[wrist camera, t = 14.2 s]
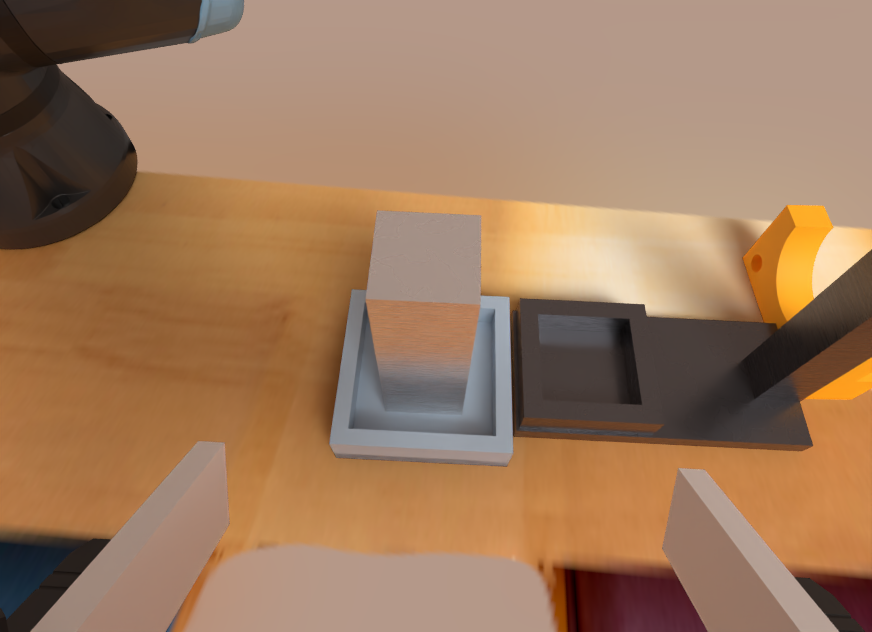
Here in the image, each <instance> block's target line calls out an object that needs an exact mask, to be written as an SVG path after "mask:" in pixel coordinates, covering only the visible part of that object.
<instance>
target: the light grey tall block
mask: <svg viewBox="0 0 872 632" xmlns="http://www.w3.org/2000/svg"><path fill="white" fill-rule="evenodd" d="M366 304H367V310H368V316H369V321H370V327H371V332H372V338H373V343H374V349H375V355H376V360H377V366H378V371H379V377H380V382H381V388H382V393H383V399H384V405H385V410H386V411H387V412H407V413H427V414H447V415H462V411H463V406H464V400H465V394H466V388H467V382H468V376H469V370H470V364H471V358H472V352H473V347H474V341H475V335H476V329H477V323H478V317H479V311H480V305H481V215H460V214H439V213H418V212H397V211H377V215H376V223H375V230H374V238H373V246H372V253H371V261H370V269H369V276H368V284H367V292H366Z"/></svg>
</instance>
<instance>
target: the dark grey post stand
mask: <svg viewBox="0 0 872 632" xmlns="http://www.w3.org/2000/svg"><path fill="white" fill-rule="evenodd" d="M511 351H512V391H513V430H514V437H532V438H552V439H571V440H591V441H611V442H630V443H650V444H670V445H689V446H709V447H729V448H748V449H768V450H788V451H803V450H805V449H808V448H810V447H812V446H813V444H812V441H811V437H810V434H809V431H808V427H807V424H806V421H805V418H804V414H803V411H802V408H801V404H800V401H802V400H803V399H805V398H806V397H808V396H810V395H811V394H813V393H815V392H816V391H818V390H819V389H821V388H823V387H824V386H826V385H828V384H829V383H831V382H833V381H834V380H836V379H837V378H839V377H841V376H842V375H844V374H846V373H847V372H849V371H850V370H852V369H854V368H855V367H857V366H859V365H860V364H862V363H863V362H865V361H867V360H868V359H870V358H872V250H871V251H869V252H868V253H867V254H866V255H865V256H864V257H862V258H861V259H860V260H859V261H858V262H857V263H855V264H854V265H853V266H852V267H851V268H850V269H848V270H847V271H846V272H845V273H844V274H843V275H841V276H840V277H839V278H838V279H837V280H836V281H834V282H833V283H832V284H831V285H830V286H829V287H827V288H826V289H825V290H824V291H823V292H822V293H820V294H819V295H818V296H817V297H816V298H815V299H813V300H812V301H811V302H810V303H809V304H808V305H806V306H805V307H804V308H803V309H802V310H800V311H799V312H798V313H797V314H796V315H795V316H793V317H792V318H791V319H790V320H789V321H788V322H786V323H785V324H784V325H783V326H782V327H781V328H779V329H777V325H776V323H759V322H738V321H718V320H697V319H677V318H656V317H646V311H645V305H644V304H624V303H604V302H583V301H562V300H542V299H521V298H520V300H519V303H518V307H517V310H516V311H513V312H512V316H511Z"/></svg>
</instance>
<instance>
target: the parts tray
mask: <svg viewBox="0 0 872 632" xmlns="http://www.w3.org/2000/svg"><path fill="white" fill-rule="evenodd" d="M366 292H367V290H355V289H352V292H351V299H350V306H349V313H348V320H347V326H346V333H345V340H344V347H343V354H342V360H341V367H340V374H339V381H338V388H337V394H336V401H335V408H334V415H333V422H332V428H331V435H330V442H329V444H330V446H331V448H332V450H333V452H334V454H335V456H336V458H351V459H371V460H390V461H410V462H429V463H449V464H468V465H488V466H507V465H508V463H509V461H510V459H511V457H512V455H513V427H512V386H511V344H510V303H509V297H499V296H481V305H480V311H479V317H478V323H477V329H476V335H475V341H474V347H473V352H472V358H471V364H470V370H469V376H468V382H467V388H466V394H465V400H464V406H463V411H462V415H447V414H427V413H407V412H387V411H386V410H385V405H384V399H383V393H382V388H381V382H380V377H379V371H378V366H377V360H376V355H375V349H374V343H373V338H372V332H371V327H370V321H369V316H368V310H367V304H366Z"/></svg>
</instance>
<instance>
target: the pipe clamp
mask: <svg viewBox="0 0 872 632" xmlns="http://www.w3.org/2000/svg"><path fill="white" fill-rule="evenodd" d="M832 228H833V226H832V223H831V222H830V219H829V217H828V215H827V212H826V210H825V208H824V206H804V205H802V206H801V205H787V206H786V207H785V208H784V210H783V211H782V212H781V213H780V214H779V215H778V216H777V218H776V219H775V220H774V221H773V222H772V224H771V225H770V226H769V227H768V228H767V230H766V231H765V232H764V233H763V234H762V235H761V237H760V238H759V239H758V240H757V241H756V243H755V244H754V245H753V246H752V247H751V248H750V250H749V251H748V252H747V253H746V254H745V256H744V257H743V261H744V264H745V267H746V270H747V273H748V276H749V279H750V282H751V285H752V288H753V291H754V294H755V297H756V300H757V303H758V306H759V309H760V312H761V315H762V318H763V321H764V323H776V325H777V329H779V328H781V327H782V326H783V325H784V324H785V323H786V322H788V321H789V320H790V319H791V318H792V317H793V316H795V315H796V314H797V313H798V312H799V311H800V310H802V309H803V308H804V307H805V306H806V305H808V304H809V303H810V302H811V301H812V300H813V299H814V297H813V291H812V272H813V266H814V261H815V258H816V255H817V252H818V250H819V247H820V245H821V243H822V242H823V240H824V238H825V237H826V235H827V234H828V233H829V232H830V230H831V229H832ZM871 388H872V358H870V359H868V360H867V361H865V362H863V363H862V364H860V365H859V366H857V367H855V368H854V369H852V370H850V371H849V372H847V373H846V374H844V375H842V376H841V377H839V378H837V379H836V380H834V381H833V382H831V383H829V384H828V385H826V386H824V387H823V388H821V389H819V390H818V391H816V392H815V393H813V394H811V395H810V396H808V397H806V398H805V399H853V398H855V397H857V396H858V395H860V394H862V393H864V392H866V391H868V390H869V389H871Z"/></svg>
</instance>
